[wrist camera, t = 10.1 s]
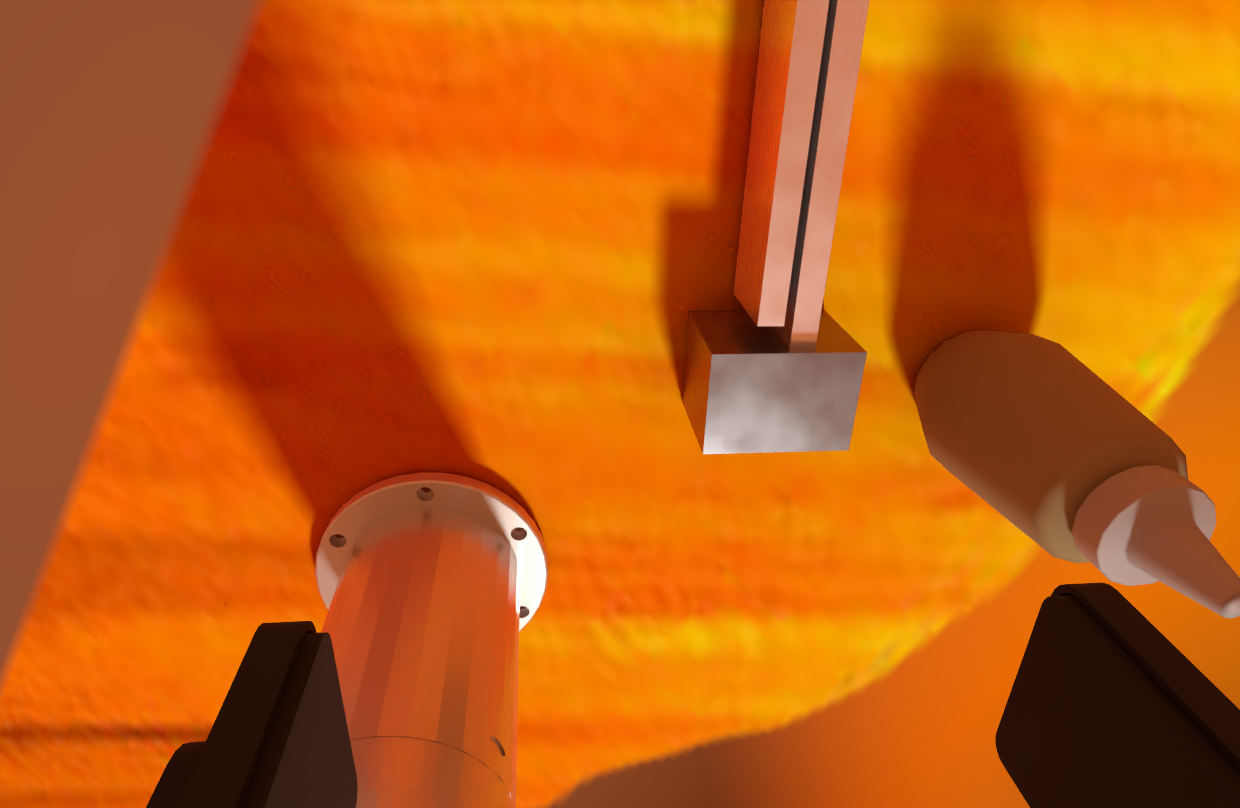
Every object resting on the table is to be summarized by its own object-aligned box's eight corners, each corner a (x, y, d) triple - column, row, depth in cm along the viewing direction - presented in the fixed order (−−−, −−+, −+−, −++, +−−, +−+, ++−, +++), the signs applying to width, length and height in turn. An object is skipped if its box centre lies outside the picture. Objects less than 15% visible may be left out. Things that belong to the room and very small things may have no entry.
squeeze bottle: (862, 405, 42) (1069, 647, 26) (962, 280, 39) (1264, 463, 23) (967, 465, 44) (1215, 719, 28) (1067, 352, 41) (1406, 562, 25)
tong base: (810, 398, 41) (848, 450, 36) (682, 401, 40) (703, 454, 35) (897, -161, 30) (969, -196, 25) (723, -171, 29) (762, -209, 24)
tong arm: (756, 293, 38) (784, 326, 34) (729, 293, 38) (753, 326, 33) (813, -183, 29) (859, -216, 25) (778, -186, 29) (818, -220, 25)
